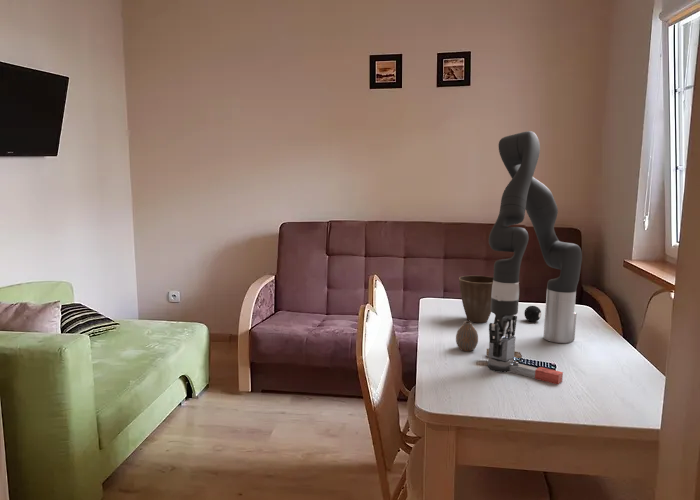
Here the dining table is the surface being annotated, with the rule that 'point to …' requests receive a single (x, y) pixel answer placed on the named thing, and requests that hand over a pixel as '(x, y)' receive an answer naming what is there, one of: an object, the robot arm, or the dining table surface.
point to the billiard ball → (532, 313)
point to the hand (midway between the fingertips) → (501, 353)
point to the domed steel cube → (504, 348)
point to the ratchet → (525, 370)
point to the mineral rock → (516, 354)
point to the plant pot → (476, 297)
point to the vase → (467, 337)
